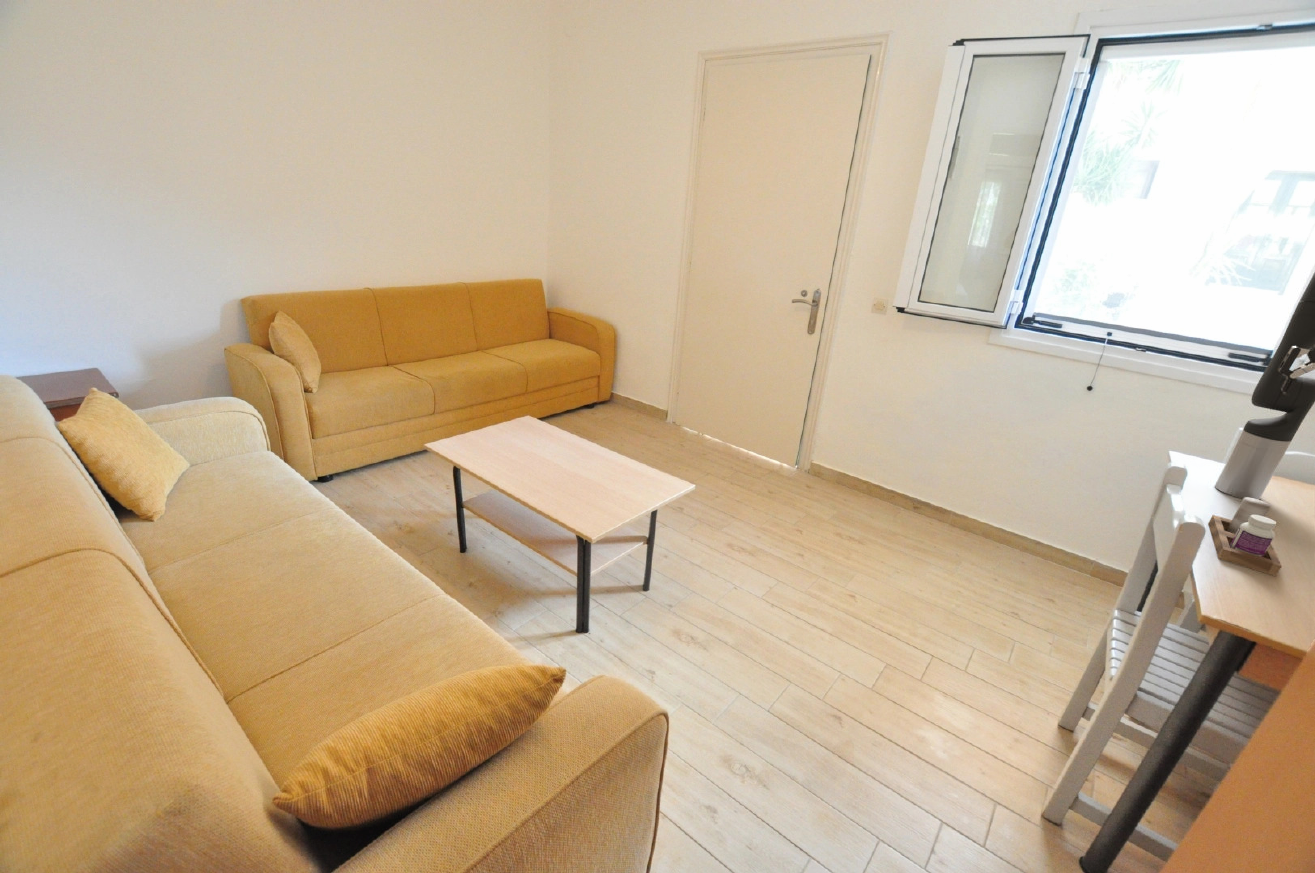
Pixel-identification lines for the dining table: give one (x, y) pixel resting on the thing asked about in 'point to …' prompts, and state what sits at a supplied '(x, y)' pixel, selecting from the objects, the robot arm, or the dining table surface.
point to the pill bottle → (1254, 535)
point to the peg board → (1227, 530)
